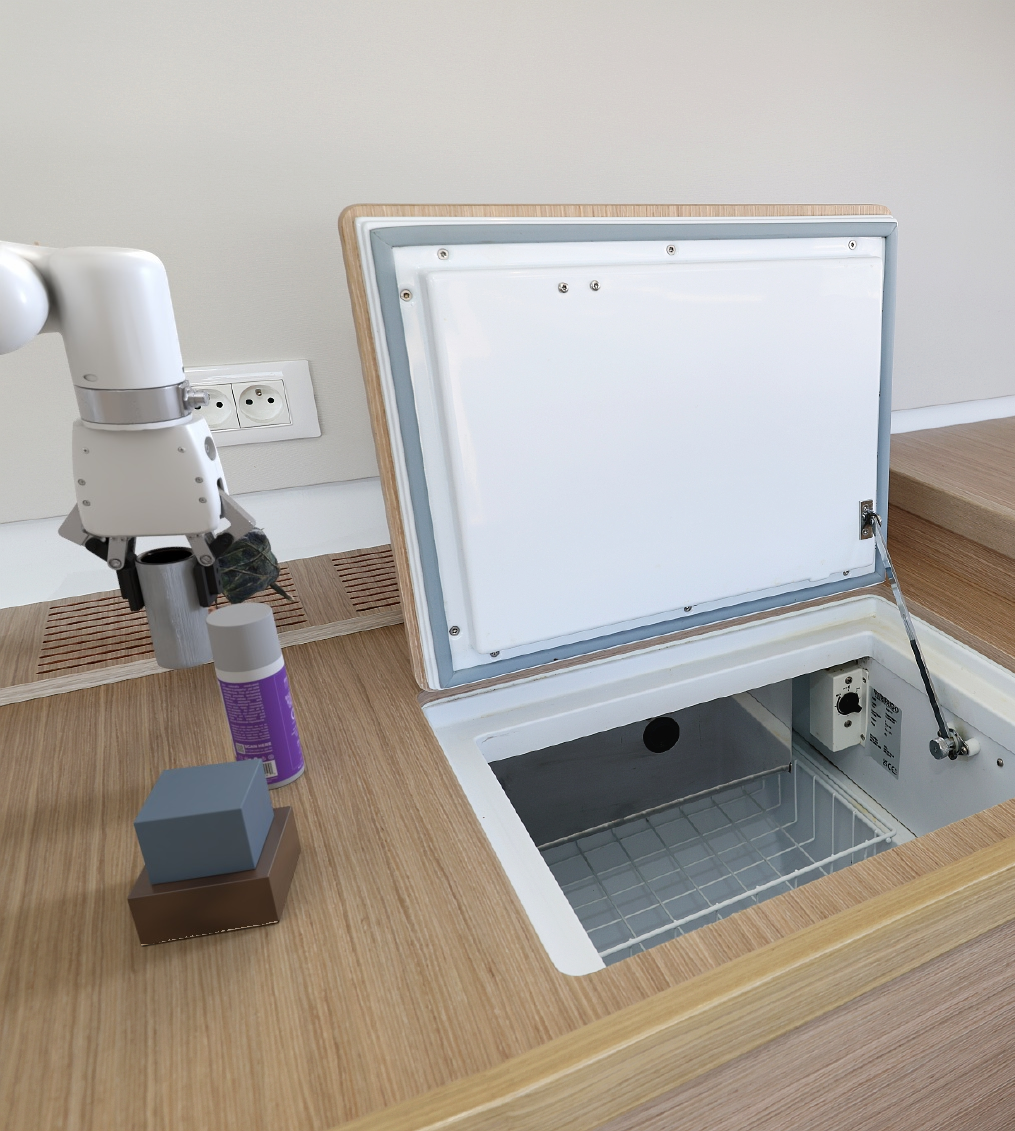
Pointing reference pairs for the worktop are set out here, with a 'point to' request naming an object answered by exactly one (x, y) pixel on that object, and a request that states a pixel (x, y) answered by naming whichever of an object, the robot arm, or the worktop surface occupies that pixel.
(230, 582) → the plant with pod
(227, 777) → the top block
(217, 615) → the container
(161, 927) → the base block
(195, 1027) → the worktop surface
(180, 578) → the planter
